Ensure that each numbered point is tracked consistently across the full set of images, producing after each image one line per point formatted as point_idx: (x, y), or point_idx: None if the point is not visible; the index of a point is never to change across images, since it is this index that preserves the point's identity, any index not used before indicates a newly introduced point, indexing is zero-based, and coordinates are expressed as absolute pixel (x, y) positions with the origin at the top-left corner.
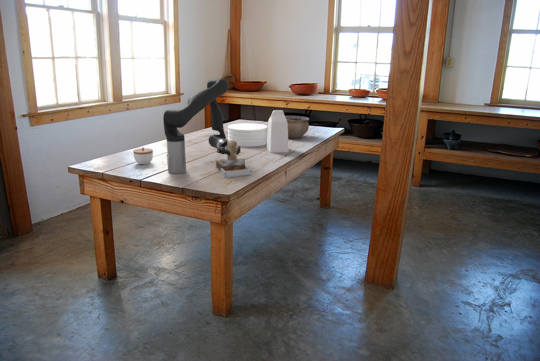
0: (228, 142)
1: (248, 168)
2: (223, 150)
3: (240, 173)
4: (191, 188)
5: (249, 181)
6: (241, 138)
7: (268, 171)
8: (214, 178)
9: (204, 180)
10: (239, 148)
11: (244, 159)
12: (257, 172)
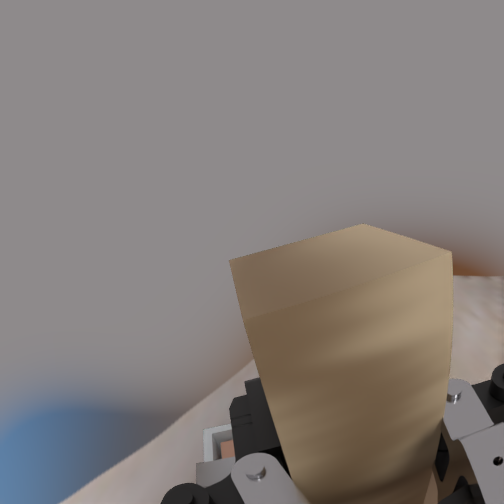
0: (392, 236)
1: (209, 454)
2: (492, 380)
3: None
4: (475, 279)
5: (253, 369)
6: None
7: (79, 499)
8: (452, 376)
9: (485, 341)
10: (181, 493)
11: (202, 466)
12: (150, 500)
